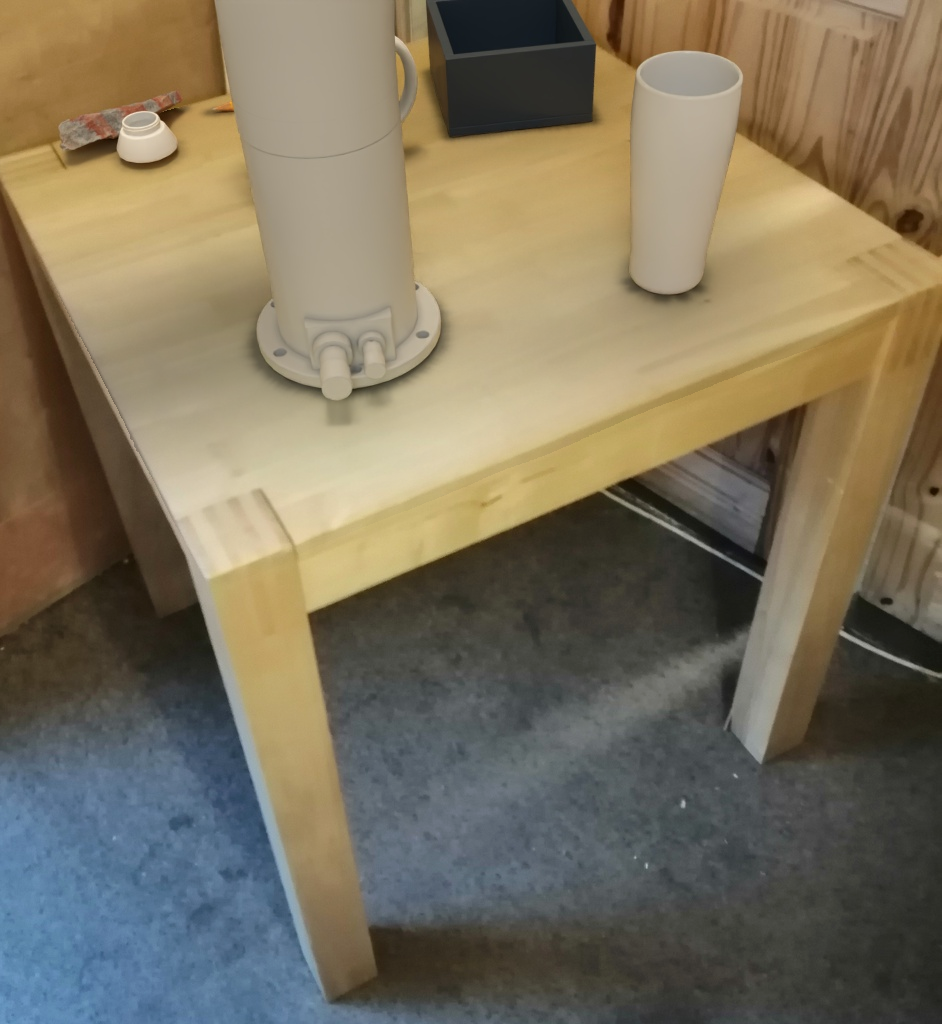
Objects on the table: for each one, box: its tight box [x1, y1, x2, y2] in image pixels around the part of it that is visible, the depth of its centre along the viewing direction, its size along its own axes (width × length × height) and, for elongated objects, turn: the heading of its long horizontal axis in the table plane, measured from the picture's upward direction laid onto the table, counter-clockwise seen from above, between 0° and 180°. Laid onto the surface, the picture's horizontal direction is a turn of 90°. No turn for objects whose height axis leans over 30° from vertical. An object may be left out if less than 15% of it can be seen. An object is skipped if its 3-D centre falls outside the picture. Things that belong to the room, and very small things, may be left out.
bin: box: [425, 0, 597, 138], centre depth 95 cm, size 13×13×7 cm
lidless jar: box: [116, 111, 179, 164], centre depth 91 cm, size 5×3×5 cm
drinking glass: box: [628, 50, 744, 296], centre depth 72 cm, size 7×7×15 cm
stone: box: [57, 89, 184, 151], centre depth 94 cm, size 12×2×5 cm
